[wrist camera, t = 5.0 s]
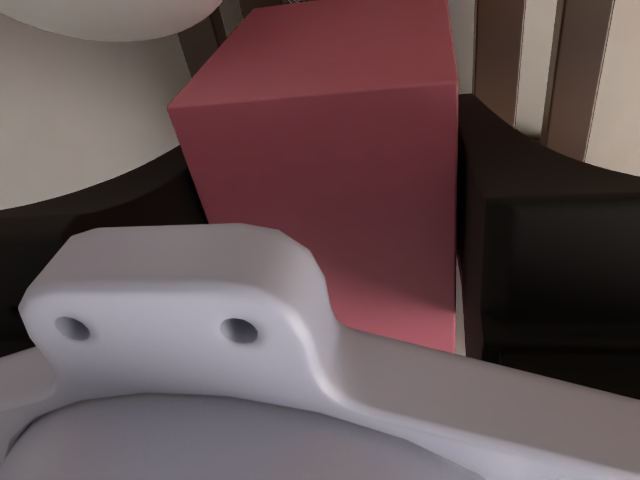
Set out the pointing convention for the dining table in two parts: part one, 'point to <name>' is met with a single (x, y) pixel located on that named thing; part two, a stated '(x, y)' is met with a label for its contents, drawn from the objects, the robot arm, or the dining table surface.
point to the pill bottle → (110, 17)
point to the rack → (498, 62)
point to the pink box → (340, 151)
